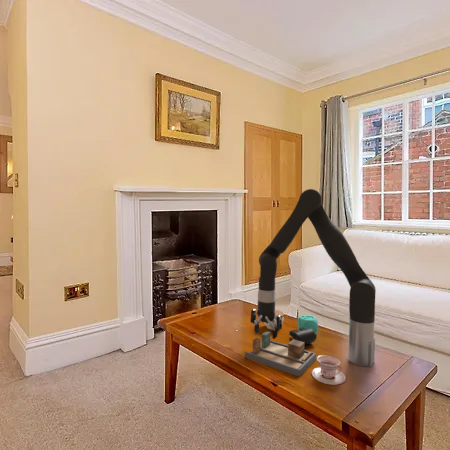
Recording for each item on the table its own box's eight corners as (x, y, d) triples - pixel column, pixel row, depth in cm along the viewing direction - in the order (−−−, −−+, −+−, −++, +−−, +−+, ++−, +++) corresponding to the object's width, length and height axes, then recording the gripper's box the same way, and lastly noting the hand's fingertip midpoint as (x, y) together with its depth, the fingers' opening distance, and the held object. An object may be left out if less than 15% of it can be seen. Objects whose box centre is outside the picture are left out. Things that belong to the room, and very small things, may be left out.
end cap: (299, 350, 138) (299, 335, 137) (288, 344, 144) (288, 329, 143) (315, 345, 143) (316, 330, 143) (304, 339, 149) (304, 325, 149)
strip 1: (302, 366, 122) (302, 350, 122) (296, 371, 118) (297, 354, 118) (257, 351, 134) (257, 336, 134) (251, 356, 130) (251, 341, 130)
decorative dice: (318, 336, 152) (318, 320, 152) (301, 336, 152) (301, 320, 152) (313, 330, 160) (313, 314, 160) (297, 330, 160) (297, 314, 160)
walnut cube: (304, 354, 130) (304, 342, 130) (299, 358, 126) (299, 346, 126) (293, 350, 133) (293, 339, 133) (287, 355, 129) (288, 343, 129)
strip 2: (311, 357, 130) (311, 341, 129) (303, 364, 123) (304, 348, 123) (268, 344, 142) (268, 329, 141) (259, 350, 135) (259, 335, 135)
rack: (316, 359, 130) (316, 353, 130) (299, 376, 116) (299, 370, 116) (264, 343, 144) (264, 338, 144) (244, 357, 131) (244, 351, 131)
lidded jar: (283, 332, 157) (284, 313, 157) (262, 331, 159) (262, 312, 158) (283, 324, 168) (283, 307, 167) (262, 323, 169) (263, 305, 169)
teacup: (305, 376, 117) (305, 359, 117) (321, 364, 126) (322, 349, 125) (335, 389, 109) (336, 372, 108) (351, 376, 117) (352, 360, 117)
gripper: (285, 300, 136) (284, 337, 137) (256, 294, 144) (256, 329, 145) (277, 304, 130) (276, 343, 131) (247, 298, 138) (247, 334, 139)
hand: (265, 335), depth 138 cm, fingers open, 8 cm apart
